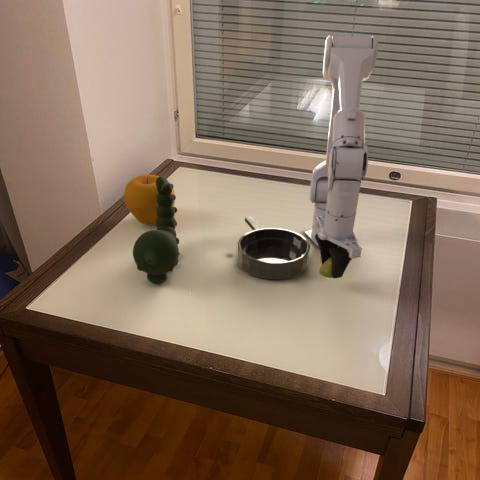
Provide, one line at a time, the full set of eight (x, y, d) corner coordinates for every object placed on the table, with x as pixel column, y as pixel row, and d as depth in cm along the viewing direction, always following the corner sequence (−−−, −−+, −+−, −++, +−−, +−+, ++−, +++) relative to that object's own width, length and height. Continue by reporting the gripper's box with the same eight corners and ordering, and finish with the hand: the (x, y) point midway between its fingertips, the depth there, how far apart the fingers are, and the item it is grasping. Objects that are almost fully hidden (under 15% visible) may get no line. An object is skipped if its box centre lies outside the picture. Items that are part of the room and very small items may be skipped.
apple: (133, 235, 123) (128, 192, 116) (121, 214, 133) (115, 172, 126) (183, 226, 128) (180, 183, 121) (168, 206, 137) (165, 165, 130)
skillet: (289, 240, 122) (290, 223, 120) (320, 273, 111) (322, 255, 108) (227, 251, 118) (227, 234, 115) (253, 287, 106) (254, 269, 103)
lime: (317, 280, 103) (319, 259, 100) (322, 268, 107) (325, 248, 104) (338, 284, 102) (341, 263, 99) (343, 272, 106) (346, 252, 103)
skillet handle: (251, 219, 124) (251, 216, 123) (263, 233, 118) (264, 230, 117) (244, 220, 123) (244, 217, 123) (256, 235, 117) (257, 231, 117)
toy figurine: (150, 246, 122) (129, 297, 101) (143, 169, 112) (117, 207, 91) (189, 247, 122) (175, 298, 101) (185, 170, 112) (169, 208, 91)
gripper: (304, 198, 99) (299, 257, 108) (341, 231, 89) (332, 294, 97) (335, 193, 101) (328, 252, 110) (375, 224, 91) (363, 287, 99)
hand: (332, 271), depth 103 cm, fingers closed on lime, 3 cm apart
